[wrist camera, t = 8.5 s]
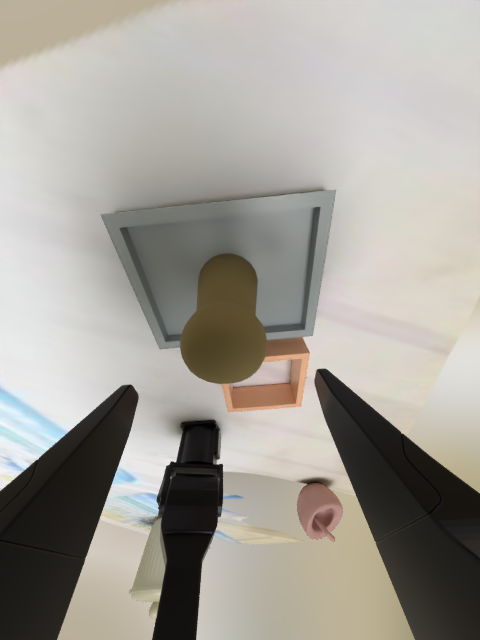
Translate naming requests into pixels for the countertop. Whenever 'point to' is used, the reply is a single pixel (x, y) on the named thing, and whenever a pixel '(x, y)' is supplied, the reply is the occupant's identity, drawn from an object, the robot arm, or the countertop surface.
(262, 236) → the tray
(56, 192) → the countertop surface
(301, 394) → the holder
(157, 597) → the canister
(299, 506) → the mortar and pestle
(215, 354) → the olive tapered piece
